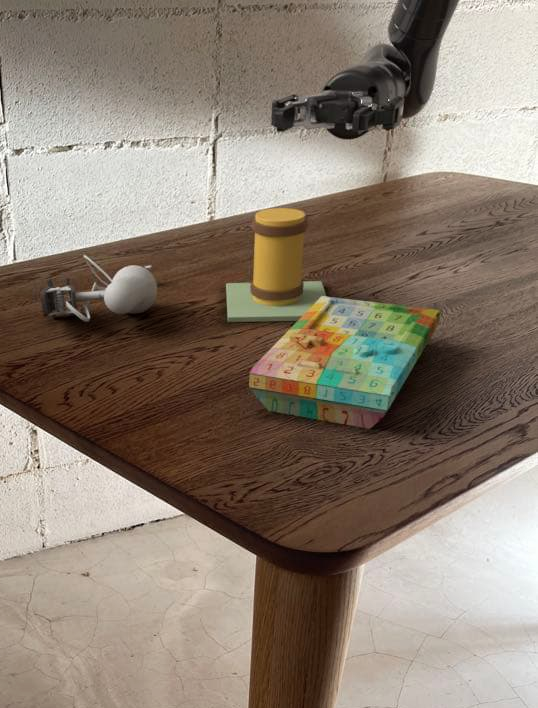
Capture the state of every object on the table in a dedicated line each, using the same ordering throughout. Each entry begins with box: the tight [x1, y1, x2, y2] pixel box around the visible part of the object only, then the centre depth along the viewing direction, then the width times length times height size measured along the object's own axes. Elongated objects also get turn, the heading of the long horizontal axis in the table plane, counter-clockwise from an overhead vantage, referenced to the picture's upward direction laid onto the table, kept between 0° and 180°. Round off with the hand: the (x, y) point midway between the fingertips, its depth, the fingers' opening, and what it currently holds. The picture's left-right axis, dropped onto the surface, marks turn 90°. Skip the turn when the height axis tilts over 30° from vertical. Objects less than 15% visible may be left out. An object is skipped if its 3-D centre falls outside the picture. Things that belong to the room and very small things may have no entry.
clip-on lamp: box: [40, 254, 158, 323], centre depth 96 cm, size 12×6×18 cm
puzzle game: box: [248, 295, 442, 430], centre depth 79 cm, size 12×5×20 cm
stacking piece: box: [250, 207, 309, 306], centre depth 94 cm, size 6×6×9 cm
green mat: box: [225, 280, 327, 323], centre depth 97 cm, size 11×11×1 cm
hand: (317, 122), depth 95 cm, fingers open, 8 cm apart
